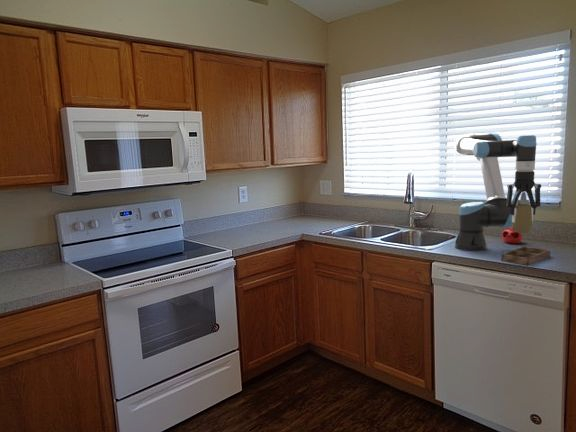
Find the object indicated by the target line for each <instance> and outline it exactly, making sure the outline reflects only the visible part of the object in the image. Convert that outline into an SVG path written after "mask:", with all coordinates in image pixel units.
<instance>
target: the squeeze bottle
mask: <svg viewBox="0 0 576 432" xmlns="http://www.w3.org/2000/svg"><path fill="white" fill-rule="evenodd" d="M520 195H521V196H520V197H519V199H518V201H517V203H516V206H515V208H517V211H516V218H515V223H514V222H512V225H511V226H512V228H514V231H515V232H519V233H522V234H525V233H530V231H531V228H532V226H533V223H532V213H531V204H530V201H529V199H527V193H526V192H521V194H520Z"/></svg>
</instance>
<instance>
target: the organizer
mask: <svg viewBox="0 0 576 432" xmlns="http://www.w3.org/2000/svg"><path fill="white" fill-rule="evenodd" d="M549 257H551V250H550V249H544V248H537V247H531V246H521V247H518V248H515V249H512V250H509V251H507V252H504V253H501V259H500V260H501V261H502V262H507V263H512V264H519V265H525V266H530V265H532V264H535V263H538V262H540V261H543V260H545V259H547V258H549Z"/></svg>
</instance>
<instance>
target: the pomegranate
mask: <svg viewBox="0 0 576 432" xmlns="http://www.w3.org/2000/svg"><path fill="white" fill-rule="evenodd" d="M523 237H524V235H523V233H519V232H515V231H514V228H513V226H510V228H509V227H505V229H504V230H503V231H502V232H501V238H502V240H503V242H504V243H505V244H519V243H520V242H522V240H523Z"/></svg>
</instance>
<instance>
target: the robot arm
mask: <svg viewBox="0 0 576 432" xmlns="http://www.w3.org/2000/svg"><path fill="white" fill-rule="evenodd" d="M454 148H455V151H456V152H457V153H458V154H460V155H464V156H474V157H475V158H476V160H477V161H479V162H480V167H481V168H480V169H481V171H482V172H481V173H482V178H483V179H482V180H483V184H484V190H485V195H486V201H485V202H483V201H472V202H465V203H463V204H461V205H460V206H459V211H458V212H459V213H458V216H459V217H458V222H459V223H458V226H459V227H458V234H457V237H456V240H455V242H454V247H455V248H456V249H457V250H462V251H470V252H471V251H472V252H473V251H477V252H478V251H484V250H486V249H487V242H486V241H487V240H486V238H485V234H484V228H509V227H510V228H511V227H512V226H513V225H512V222H514V223H515V218H516V211H517V208H515V206H516V205H517V202H518V200H519V199H520V197H521V196H520V195H522V192H525V194H526V196H527V197H528V200H529V205H530V206H531V213H532V224H533V222H534V216H535V215H536V209H537V207H541V188H542V184H540V183H535V170H536V168H535V167H536V153H537V151H536V150H537V136H536V135H535V134H531V135H517V137H516V139H511V140H503V139H502V136H500V134H499V133H495V132H486V133H485V132H484V133H483V132H482V133H466V134H464V135H461V136H459V137H458V138H457V139H456V141H455V143H454ZM509 157H510V158H511V157H512V158H513V157H514V158H515V172H514V182H513V183H511V184H507V185H506V186H507V194H506V195H505V190H504V183H503V179H502V172H501V169H500V164H499V159H498V158H509ZM514 188H515V189H516V190H515V193H514ZM533 188H534V195H533V190H532V189H533ZM513 193H514V196H513Z"/></svg>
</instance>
